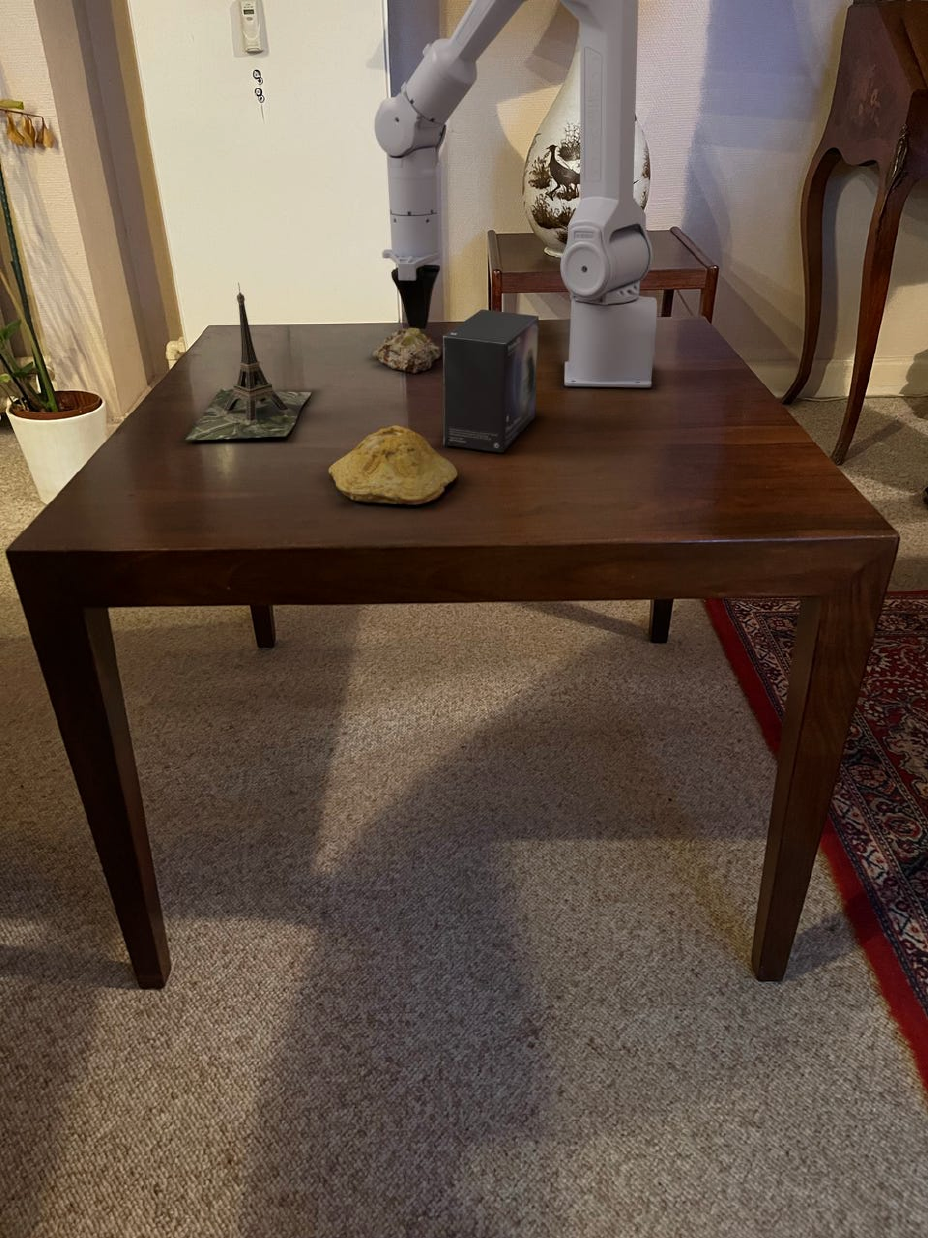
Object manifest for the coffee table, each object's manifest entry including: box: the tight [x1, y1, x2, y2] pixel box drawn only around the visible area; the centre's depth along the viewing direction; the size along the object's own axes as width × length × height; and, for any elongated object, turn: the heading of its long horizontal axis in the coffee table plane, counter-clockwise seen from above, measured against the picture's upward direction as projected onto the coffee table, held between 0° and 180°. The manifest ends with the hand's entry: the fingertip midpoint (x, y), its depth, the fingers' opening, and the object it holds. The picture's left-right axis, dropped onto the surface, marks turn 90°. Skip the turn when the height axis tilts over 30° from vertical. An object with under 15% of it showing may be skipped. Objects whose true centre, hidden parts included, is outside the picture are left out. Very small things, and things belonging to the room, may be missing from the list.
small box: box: [442, 309, 540, 454], centre depth 89 cm, size 11×6×10 cm, turn 160°
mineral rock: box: [372, 327, 443, 374], centre depth 111 cm, size 11×4×8 cm
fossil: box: [328, 424, 458, 506], centre depth 80 cm, size 11×6×10 cm
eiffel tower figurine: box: [185, 282, 313, 441], centre depth 93 cm, size 15×10×13 cm
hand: (418, 327), depth 118 cm, fingers closed
